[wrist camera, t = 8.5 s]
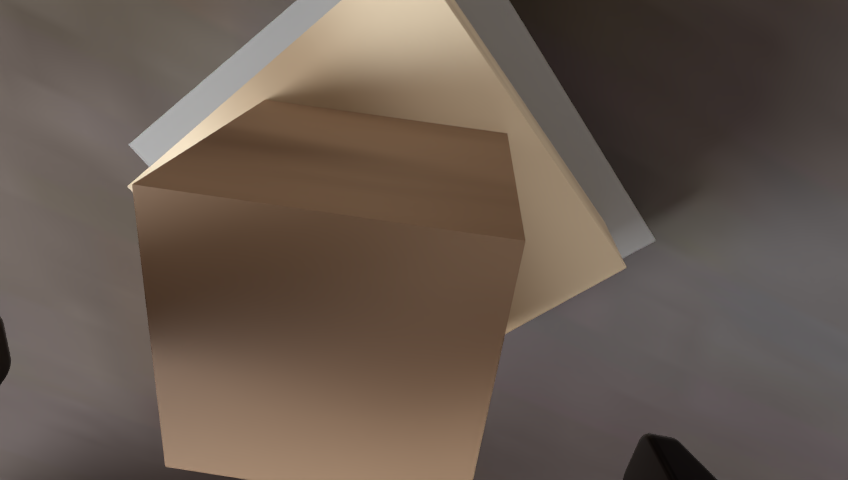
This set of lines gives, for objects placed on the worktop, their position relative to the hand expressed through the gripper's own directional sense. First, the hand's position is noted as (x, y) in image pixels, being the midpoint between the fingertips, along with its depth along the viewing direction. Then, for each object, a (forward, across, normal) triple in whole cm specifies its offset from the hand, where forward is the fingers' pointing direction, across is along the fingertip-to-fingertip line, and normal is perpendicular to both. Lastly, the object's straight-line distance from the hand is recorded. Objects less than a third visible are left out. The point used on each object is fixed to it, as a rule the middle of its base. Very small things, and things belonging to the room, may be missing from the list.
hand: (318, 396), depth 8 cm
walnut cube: (+5, 0, 0) cm, 5 cm away
